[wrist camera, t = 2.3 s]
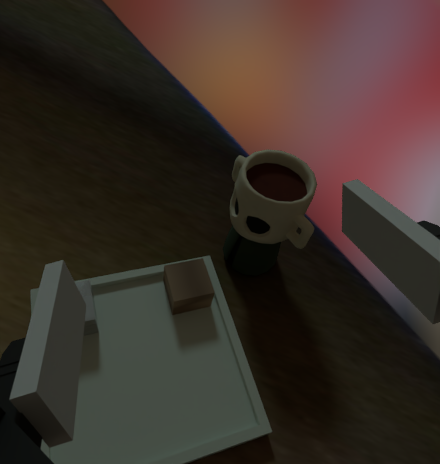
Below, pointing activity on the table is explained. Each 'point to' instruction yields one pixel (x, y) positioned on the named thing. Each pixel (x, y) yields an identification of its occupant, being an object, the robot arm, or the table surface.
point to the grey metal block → (88, 307)
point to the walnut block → (188, 286)
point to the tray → (159, 378)
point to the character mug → (267, 208)
